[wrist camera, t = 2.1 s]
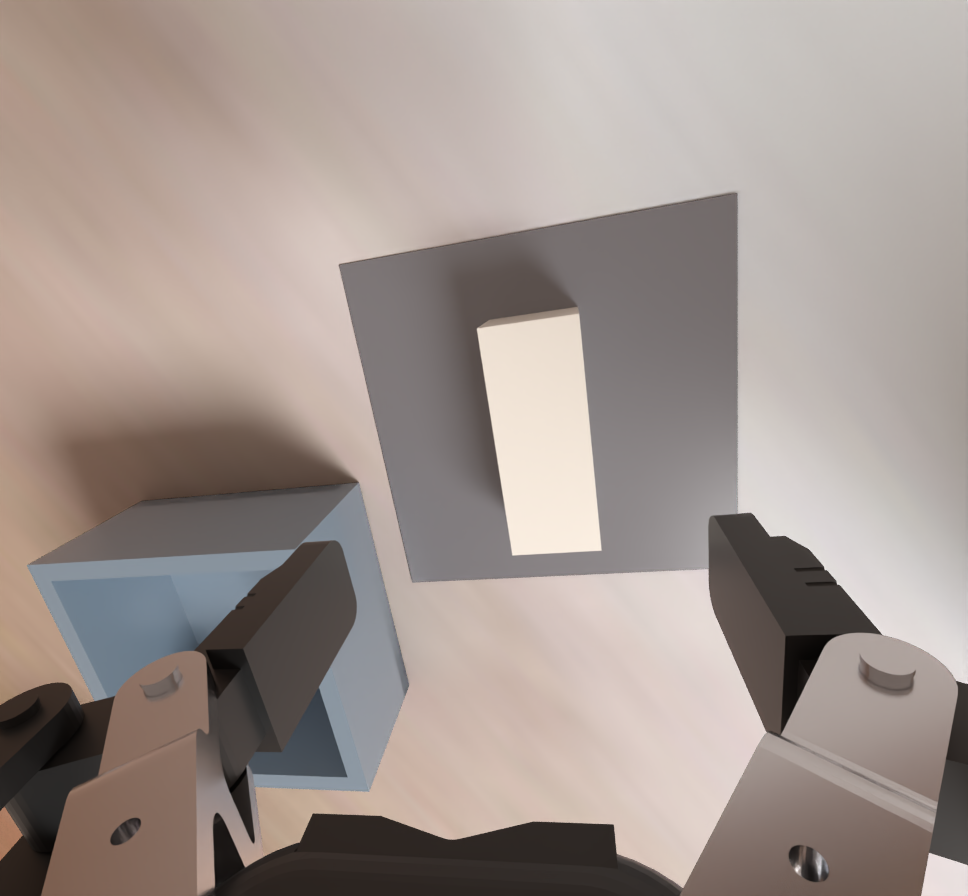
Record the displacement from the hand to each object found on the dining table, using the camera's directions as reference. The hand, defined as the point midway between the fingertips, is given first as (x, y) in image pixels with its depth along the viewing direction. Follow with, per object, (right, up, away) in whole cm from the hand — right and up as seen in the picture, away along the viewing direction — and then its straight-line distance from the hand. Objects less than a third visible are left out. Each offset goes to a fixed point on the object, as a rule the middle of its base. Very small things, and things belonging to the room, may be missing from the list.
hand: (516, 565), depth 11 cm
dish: (-12, -5, +16) cm, 20 cm away
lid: (+2, +4, +11) cm, 12 cm away
